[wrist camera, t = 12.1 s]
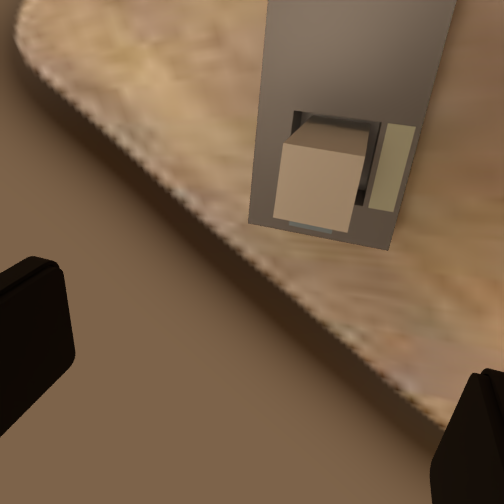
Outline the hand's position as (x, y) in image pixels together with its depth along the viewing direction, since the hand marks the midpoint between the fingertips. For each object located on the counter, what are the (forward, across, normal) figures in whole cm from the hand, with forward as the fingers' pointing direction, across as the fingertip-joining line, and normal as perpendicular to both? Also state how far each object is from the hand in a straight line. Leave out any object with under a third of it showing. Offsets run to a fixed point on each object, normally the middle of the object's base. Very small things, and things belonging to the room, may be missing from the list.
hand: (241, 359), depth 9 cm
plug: (+23, 0, 0) cm, 23 cm away
